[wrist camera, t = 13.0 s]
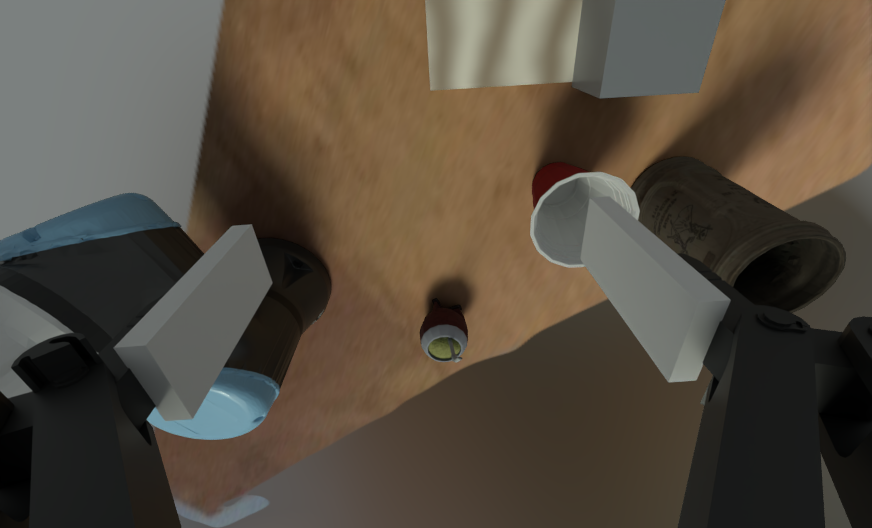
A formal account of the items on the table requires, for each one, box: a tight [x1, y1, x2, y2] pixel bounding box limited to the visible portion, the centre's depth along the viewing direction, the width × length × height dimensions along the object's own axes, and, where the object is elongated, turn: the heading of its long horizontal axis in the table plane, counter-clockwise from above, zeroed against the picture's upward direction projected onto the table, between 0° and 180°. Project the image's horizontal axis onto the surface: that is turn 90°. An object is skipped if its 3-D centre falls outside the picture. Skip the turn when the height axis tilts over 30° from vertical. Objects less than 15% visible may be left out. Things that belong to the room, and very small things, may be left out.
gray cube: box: [572, 0, 726, 98], centre depth 35 cm, size 9×9×8 cm
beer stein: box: [631, 157, 846, 313], centre depth 43 cm, size 15×11×20 cm
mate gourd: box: [420, 298, 468, 362], centre depth 53 cm, size 8×8×15 cm
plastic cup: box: [530, 162, 640, 267], centre depth 43 cm, size 11×11×12 cm
